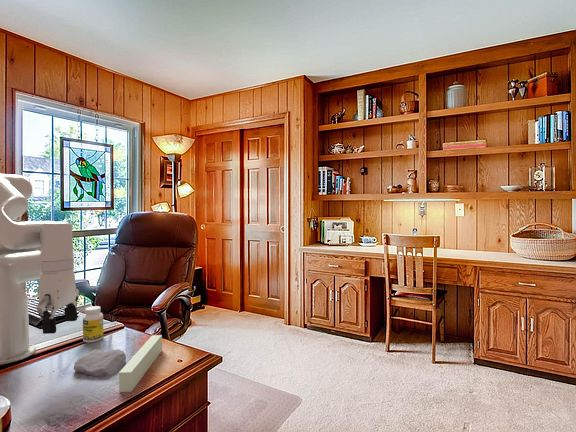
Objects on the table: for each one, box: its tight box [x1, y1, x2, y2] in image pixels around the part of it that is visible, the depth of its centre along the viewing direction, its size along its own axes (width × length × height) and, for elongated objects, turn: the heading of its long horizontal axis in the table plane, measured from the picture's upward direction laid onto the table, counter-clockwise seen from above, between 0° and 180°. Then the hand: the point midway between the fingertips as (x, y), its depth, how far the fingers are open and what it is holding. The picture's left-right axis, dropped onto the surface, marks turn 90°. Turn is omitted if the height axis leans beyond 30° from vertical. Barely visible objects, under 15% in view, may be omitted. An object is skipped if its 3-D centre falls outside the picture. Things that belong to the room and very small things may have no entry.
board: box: [118, 334, 163, 393], centre depth 99 cm, size 3×24×5 cm, turn 2°
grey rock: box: [73, 349, 127, 377], centre depth 99 cm, size 12×5×10 cm
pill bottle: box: [82, 305, 104, 343], centre depth 119 cm, size 6×6×11 cm
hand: (60, 326), depth 97 cm, fingers open, 9 cm apart
